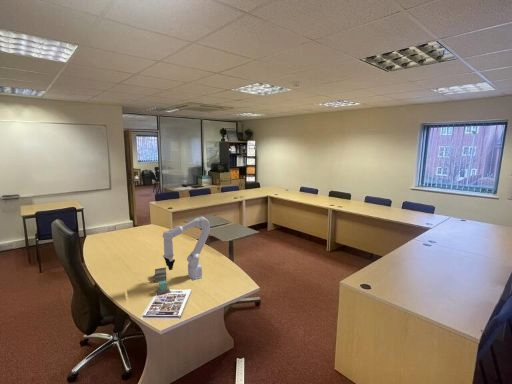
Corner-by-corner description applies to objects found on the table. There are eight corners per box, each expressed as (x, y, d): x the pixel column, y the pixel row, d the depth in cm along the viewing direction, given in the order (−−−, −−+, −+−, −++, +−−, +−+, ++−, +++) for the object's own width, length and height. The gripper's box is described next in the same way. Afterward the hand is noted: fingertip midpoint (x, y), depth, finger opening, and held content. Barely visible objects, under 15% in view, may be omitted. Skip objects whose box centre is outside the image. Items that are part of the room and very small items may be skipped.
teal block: (165, 286, 174) (165, 280, 173) (167, 288, 170) (166, 282, 170) (159, 287, 172) (158, 281, 172) (160, 290, 169) (160, 284, 168)
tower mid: (166, 288, 176) (166, 285, 175) (168, 292, 171) (168, 289, 170) (157, 290, 173) (156, 287, 173) (158, 294, 168) (158, 291, 167)
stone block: (152, 284, 183) (152, 277, 183) (153, 275, 197) (153, 269, 196) (166, 282, 186) (166, 275, 185) (166, 273, 200) (166, 267, 199)
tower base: (168, 289, 177) (168, 287, 177) (171, 295, 170) (171, 292, 170) (155, 293, 173) (155, 290, 173) (157, 298, 167) (157, 295, 166)
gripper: (160, 246, 187) (161, 265, 189) (164, 253, 175) (165, 273, 177) (170, 244, 191) (171, 263, 193) (175, 251, 178) (176, 270, 180)
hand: (169, 267), depth 185 cm, fingers open, 7 cm apart
